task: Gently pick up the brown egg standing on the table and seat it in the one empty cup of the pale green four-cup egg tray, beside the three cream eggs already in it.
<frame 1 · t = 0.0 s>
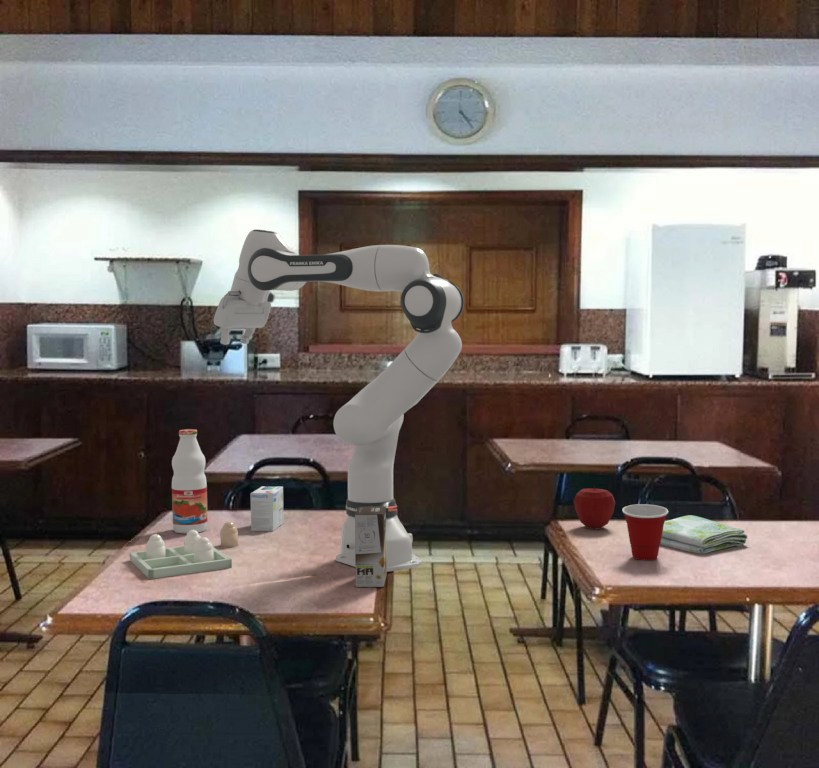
hand: (234, 343, 240), 52 cm above the table, tool tilted 20°, fingers open, 8 cm apart
coffee box: (371, 582, 208), on the table
cream egg a: (193, 557, 229), point 1 cm above the table, touching egg tray
cream egg c: (204, 565, 221), point 1 cm above the table, touching egg tray
apple: (594, 528, 260), on the table
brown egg: (229, 547, 241), on the table
towel: (692, 544, 243), on the table
cream egg b: (156, 562, 224), point 1 cm above the table, touching egg tray
fruit juice: (190, 531, 261), on the table
egg tray: (180, 566, 223), on the table
light bulb box: (267, 527, 265), on the table
plastic cup: (644, 558, 227), on the table
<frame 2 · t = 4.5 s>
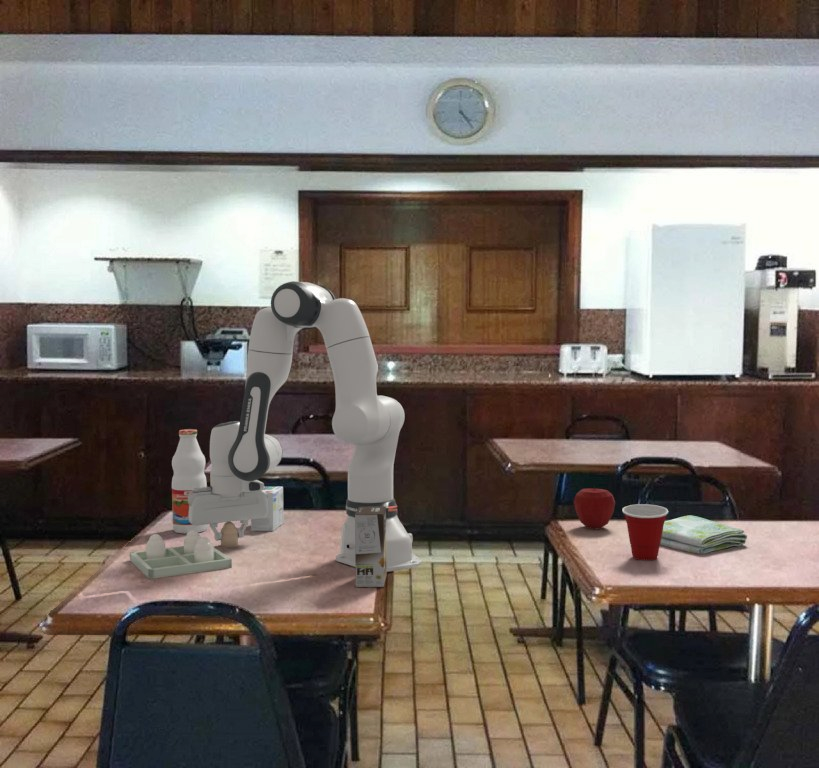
hand: (229, 538, 241), 2 cm above the table, tool pointing down, fingers closed on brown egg, 4 cm apart
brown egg: (229, 547, 241), on the table, touching gripper
everything else where it was.
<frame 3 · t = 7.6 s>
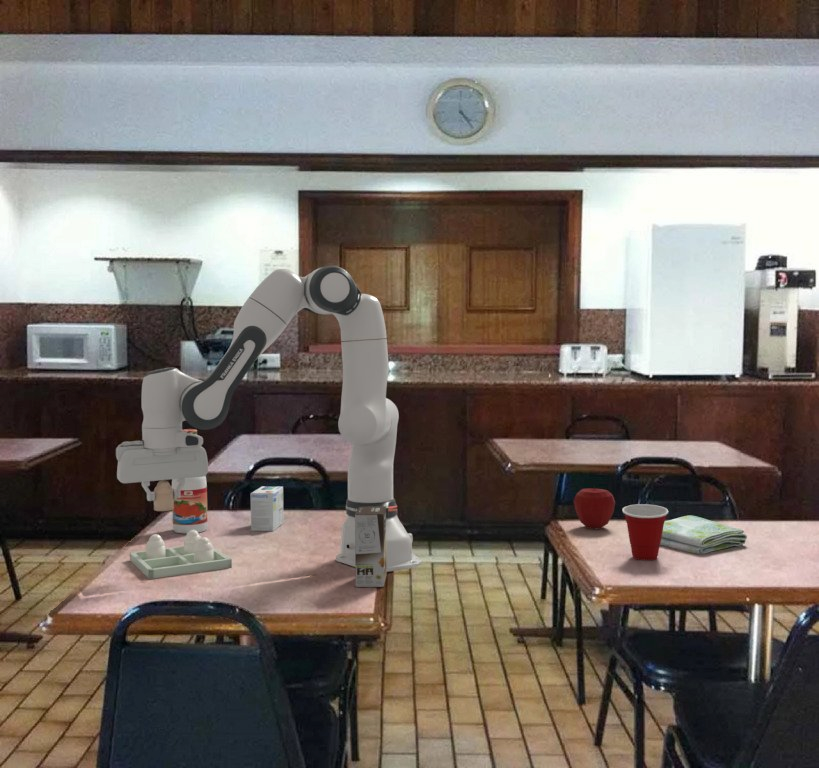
hand: (163, 499, 215), 17 cm above the table, tool pointing down, fingers closed on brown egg, 4 cm apart
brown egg: (163, 509, 216), point 15 cm above the table, touching gripper
everything else where it was.
when the fingers open (4 cm above the table, at t = 10.9 s): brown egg stays where it is, resting on egg tray.
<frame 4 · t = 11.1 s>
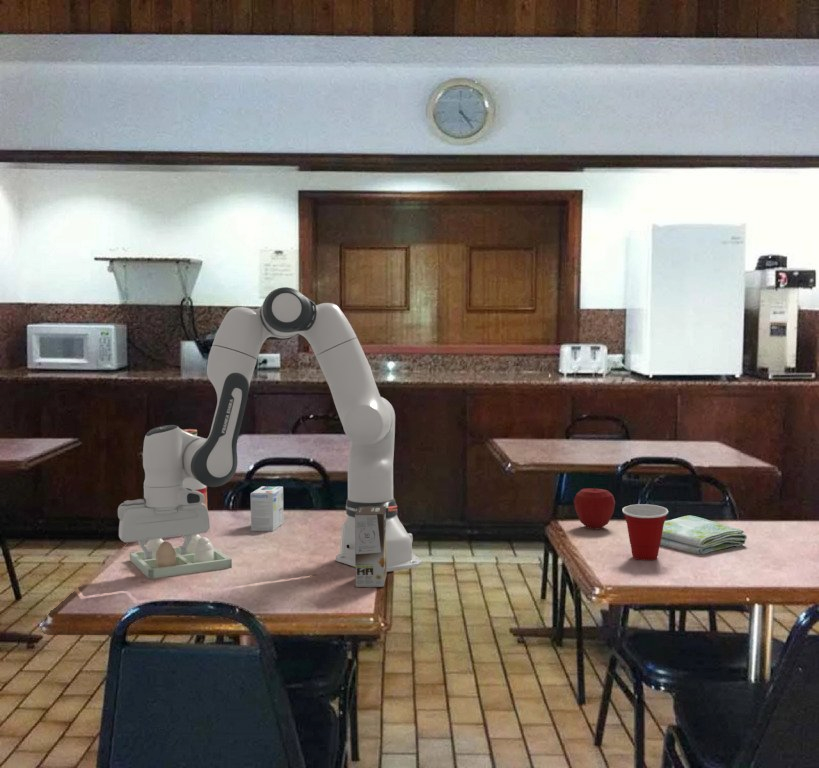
hand: (165, 556, 216), 4 cm above the table, tool pointing down, fingers open, 7 cm apart
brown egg: (166, 570, 217), point 1 cm above the table, touching egg tray
everything else where it was.
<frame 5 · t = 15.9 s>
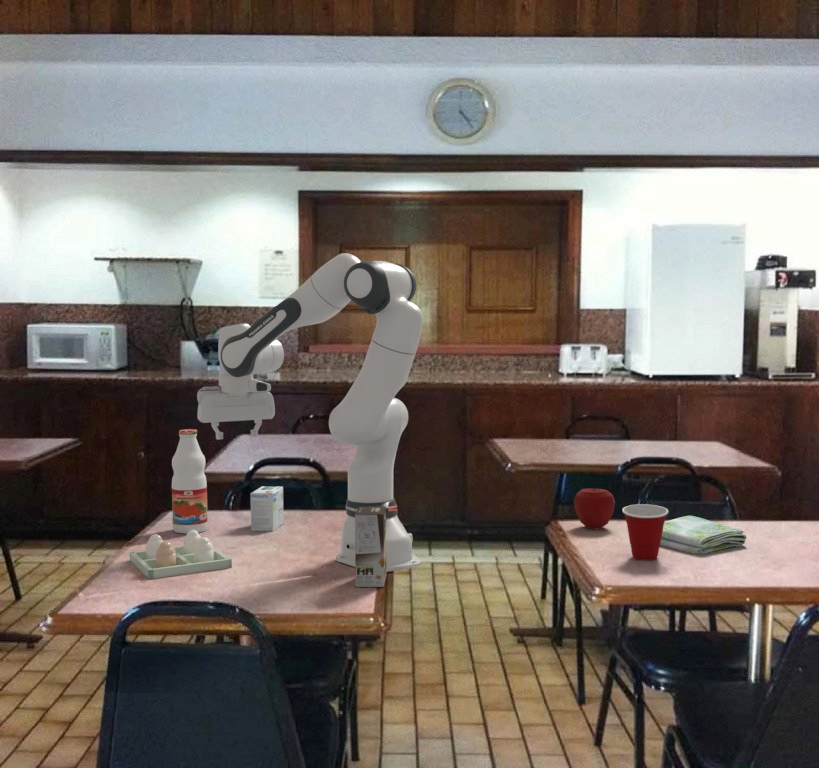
hand: (237, 437, 248), 27 cm above the table, tool pointing down, fingers open, 8 cm apart
nothing on the table moved.
at the end: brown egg inside the target area (0.1 cm from its centre), point 0.6 cm above the table; the gripper is holding nothing; cream egg b moved 0.0 cm from its start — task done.
